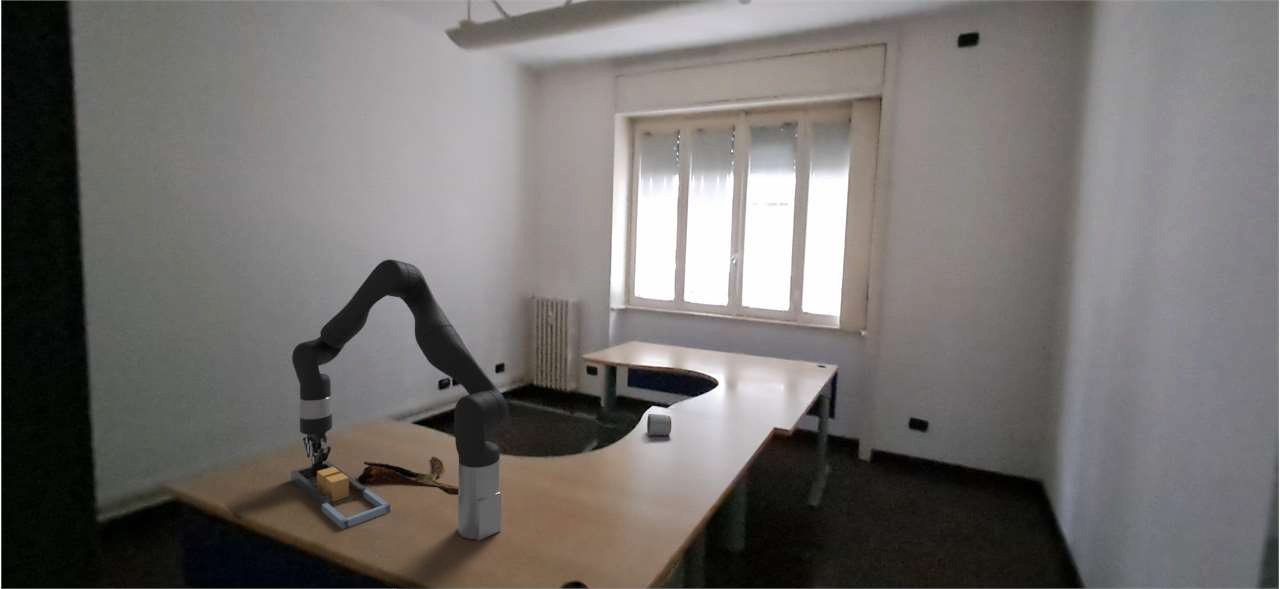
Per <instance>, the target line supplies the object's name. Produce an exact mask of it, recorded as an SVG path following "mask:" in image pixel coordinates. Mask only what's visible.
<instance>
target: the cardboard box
mask: <svg viewBox="0 0 1280 589" xmlns="http://www.w3.org/2000/svg"><path fill="white" fill-rule="evenodd" d="M325 482H326V495H327V496H328V497H330V499H331V501H332V502H333V501H336V500H339V499H342V498H345V497H348V496H349V477H347V476H346V475H344V474H343V473H340V474H336V475H333V476H330V477H326V478H325Z"/></svg>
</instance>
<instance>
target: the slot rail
mask: <svg viewBox="0 0 1280 589" xmlns="http://www.w3.org/2000/svg"><path fill="white" fill-rule="evenodd" d="M330 467H335V468H336V469H337V470H339V471H340V473H343V474H344V475H346V476H347V477H349V496H348V497H345V498H342V499H339V500H336V501H333V502H332V501H331V499H330V497H328V496H327V495H326V494H325V493H323V492H322V491H321V490H320V489H318V488H317V477H314V476H313V475H312V465H310V466H306V467H302V468H299V469H294V470H292V471H290V481H291V482H292V483H293V484H295V486H297V487H298V489H300V490H302V492H304V493H305V494H306V495H307V496H309V497H310V499H312V500H313V501H314V502H316V503H317V504H318V505H319V506H320V507H321V508H322V504H324V503H328V504H329V505H331V506H332V507H333V508H335V507H336V508H337V507H339V506H341V505H344V504H347V503H350V502H353V501H357V500H359V499H362V498H364V497H363V491H364V490H366V487H365V486H364V485H362V484H360V483H358V480H356V479H354V478H352V477H351V476H350V475H349V474H347V473H345V472H344V471H343V470H342V469H340V468H338V467H337V466H336V465H335V464H333V463H332V462H331V461H329V460H328V461H324V462H323V469H327V468H330Z"/></svg>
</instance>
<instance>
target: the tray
mask: <svg viewBox="0 0 1280 589" xmlns="http://www.w3.org/2000/svg"><path fill="white" fill-rule="evenodd" d="M362 498H364V499H365V500H366V501H368V502H370V503H371V504H372V505H373V506H374V508H372V509H369V510H366V511H362V512H360V513H357V514H354V515H351V516H348V517H345V516H344V515H343V514H342V513H340V512H339V511H338V510H337V509H335V507H332V506H331V505H329V504H328V503H324V504H322V507H321V512H322V513H323V514H324V515H325V516H326V517H327V518H329V519H330V520H331V521H333V523H335V524H336V525H337V526H338V527H339V528H340V529H341V530H345V529H348V528H351V527H353V526H356V525H359V524H361V523H364V522H366V521H369V520H372V519H375V518H377V517H380V516H382V515H386V514H389V513H391V504H390V503H388V502H387V501H386V500H384V499H382V498H381V497H380V496H378V495H377V494H376V493H374V492H373V491H371V490H370V489H368V488H367V489H365V490H364V491H363V497H362Z"/></svg>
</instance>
